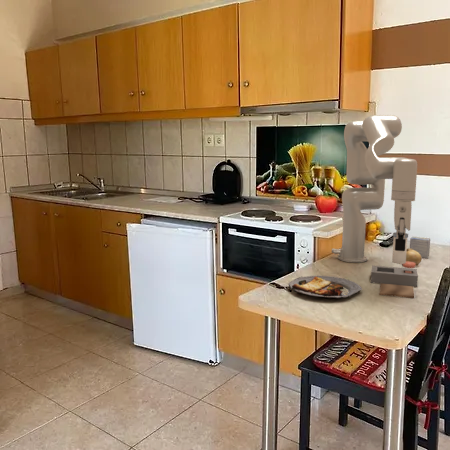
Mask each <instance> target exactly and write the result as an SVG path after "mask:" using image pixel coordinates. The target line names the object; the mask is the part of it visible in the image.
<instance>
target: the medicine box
mask: <svg viewBox="0 0 450 450" xmlns="http://www.w3.org/2000/svg"><path fill="white" fill-rule="evenodd" d="M409 239H410V240H409V249H413V250H415V251H417V252H418V253H419V254H420V255H421V258H422V259H428V258H429V257H430V252H431V251H430V248H431V247H430V246H431V238H430V237H425V236H424V237H421V236H411V237H410V238H409Z"/></svg>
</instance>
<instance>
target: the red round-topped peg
mask: <svg viewBox="0 0 450 450" xmlns="http://www.w3.org/2000/svg"><path fill="white" fill-rule="evenodd" d="M415 264H416V263H414V262H409V261H406V263H405V264H402V268H410V269H416V266H415ZM405 273H412V271H405Z"/></svg>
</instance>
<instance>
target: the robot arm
mask: <svg viewBox="0 0 450 450" xmlns="http://www.w3.org/2000/svg"><path fill="white" fill-rule="evenodd" d="M402 124H403V123H402V121H401V119H400V118H399V117H398V116H396V115H394V114H393V115H391V114H373V115H369V116H367V117H366V118H365V119H363V120H362V119H361V120H360V119H359V120H352V121H349V122H347V123H346V124H345V127H344V131H343V139H344V144H345V147H346V181H347V182H348V183H349V184H350V185H370V186H371V187H350V188H347V189H345V190H344V191H343V192H342V194H341V202H342V212H343V213H342V215H343V216H342V217H343V218H342V219H343V220H342V238H341V239H342V240H341V241H342V243H341V248H331V253H332V254H334V255H337V259H338V260H340V261H341V262H347V263H365V262H367V261H368V256H366V255H365V244H366V243H365V241H366V225H367V224H366V222H367V220H366V217H365V216H364V214H363V213H362V211H366V210H368V211H369V210H374V211H375V210H380V209H381V208H382V207H383V205H384V201H385V187H386V186H385V185H386V180H391V182H392V183H391V196H390V197H391V198H390V200H391V201H394V208H393V222H394V230H395V231H396V232H397V236H396V239H395V250H396V251H405V243H406V239H405V233H406V231H411V223H412V205H413V204H412V202H415V201H416V189H417V178H418V162H417V160H416V159H414V158H407V157H403V156H402V157H401V156H400V157H396V156H395V157H393V156H392V157H389V156H388V157H386V156H384V157H383V156H382V157H380V156H381V155H384V154H386V153H388V152H389V151H391V150H392V149H393V148H394V145H395V139H396V138H398V137H399V135H400V134H401V132H402V129H403V125H402ZM364 142H368V144H369V146H368V148H367V147H366V145H365V143H364ZM396 232H395V233H396ZM398 232H399V233H398Z"/></svg>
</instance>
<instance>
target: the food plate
mask: <svg viewBox="0 0 450 450" xmlns="http://www.w3.org/2000/svg"><path fill="white" fill-rule="evenodd" d="M288 287H289V288H290V290H293V291H294V292H297V293H300V294H304V295H307V296H309V297H318V298H326V299H330V298H331V299H340V298H343V299H345V298H348V297H352V296H353V295H355V294H356V293H359V291H363V287H362V286H360V284H358V283H357V282H355V281H352V280H350V279H346V278H343V277H339V276H330V275H329V276H328V275H306V276H299V277H297V278H295V279H293V280H291V281H289V283H288ZM344 289H345V290H346V291H344ZM347 291H348V292H347ZM343 293H344V294H346V293H347V295H344V294H343Z"/></svg>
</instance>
